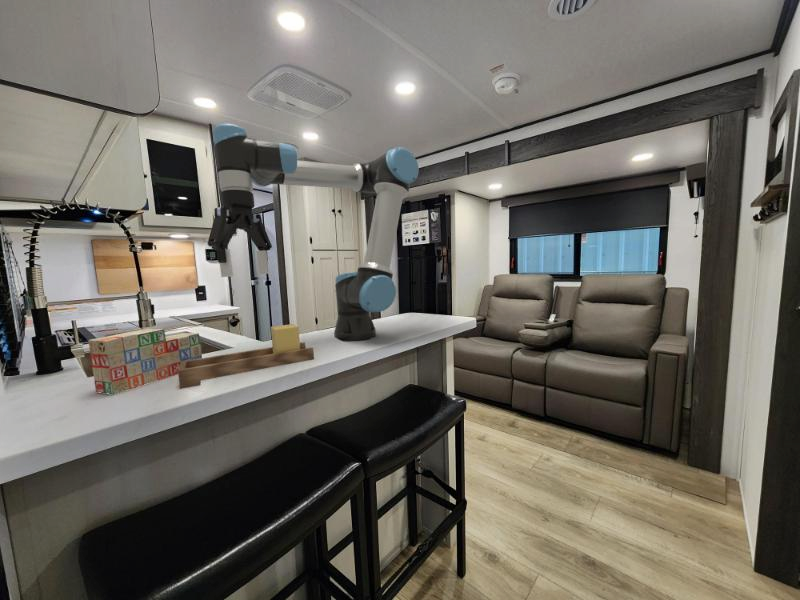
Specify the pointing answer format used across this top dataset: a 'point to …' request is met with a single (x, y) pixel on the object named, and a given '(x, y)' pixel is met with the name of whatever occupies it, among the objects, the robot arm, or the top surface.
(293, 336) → the block
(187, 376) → the chute
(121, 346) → the stack of blocks
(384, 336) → the top surface
